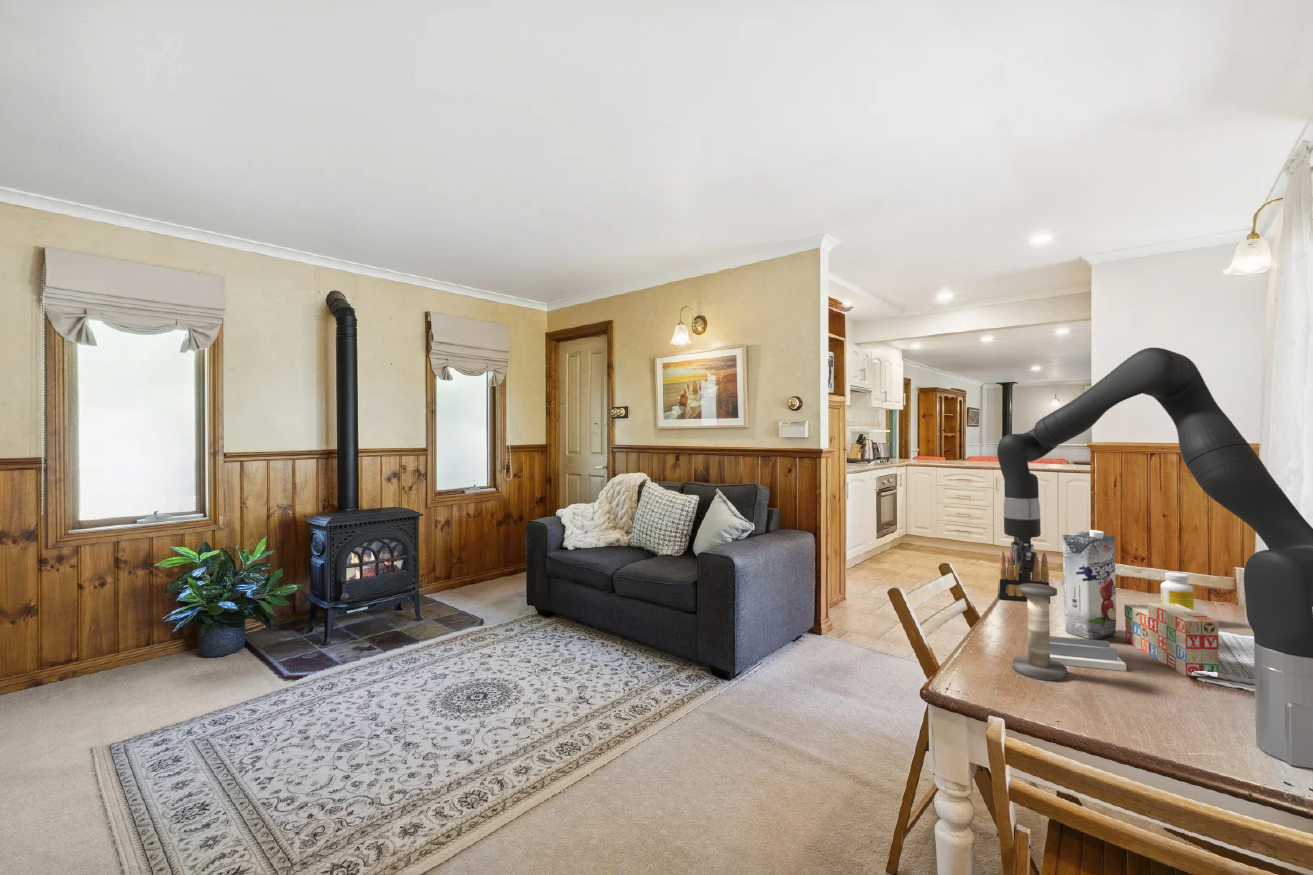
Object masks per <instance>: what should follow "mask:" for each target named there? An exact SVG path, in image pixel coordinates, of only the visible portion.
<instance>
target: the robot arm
mask: <svg viewBox="0 0 1313 875" xmlns="http://www.w3.org/2000/svg"><path fill="white" fill-rule="evenodd" d="M1142 394H1143V395H1146V396H1148V397H1153V399H1154V400H1156V401H1157V402H1158V403H1159V404H1160V405H1161V407H1162V408H1163V409H1164V411H1166V414H1168V416H1169V417H1170V419H1171V421H1172V422H1173V423H1174V426H1175V428H1176V432H1177V438H1178V446H1179V450H1180V454H1181V458H1182V460H1183V462H1184V464H1185V465H1186V467H1187V469H1188V471H1189V472H1190V473H1191V475H1192V478H1194V480H1195V481H1196V482H1197V484H1198V486H1199V487H1200V489H1202V491H1203V492H1204V493H1205V494H1206V495H1207V496H1209V497H1210V498H1211V499H1212V500H1213V501H1215V502H1216V503H1217V504H1219V505H1220V506H1222V507H1223V508H1224V509H1226V510H1228V511H1229V512H1230V513H1232V514H1233V515H1234V516H1236V517H1237V518H1239V519H1240V520H1241V521H1243V522H1244V523H1246V524H1247V525H1248V526H1249V527H1250V528H1251V529H1252V530H1253V531H1254V532H1255V533H1256V534H1257V535H1258V536H1259V538H1260V539H1261V540H1262V541H1263V543H1264V544H1265V546H1266V547H1267V549H1264V550H1263V549H1262V550H1260V551H1257V552H1255V553H1253V554H1252V555H1250V557H1249V558H1248V559H1247V560H1246V562H1245V565H1244V571H1243V588H1244V589H1243V590H1244V601H1245V614H1246V617H1247V621H1248V624H1249V626H1250V629H1251V631H1252V632H1253V646H1254V649H1253V651H1254V657H1253V658H1254V660H1253V662H1254V667H1253V668H1254V710H1255V711H1254V714H1255V715H1254V716H1255V745H1256V746H1257V747H1258V748H1259V749H1260V750H1261V751H1263V752H1265V753H1266V754H1268V755H1270V756H1272V757H1274V758H1277V759H1279V760H1282V761H1284V762H1286V763H1287V764H1289V765H1290V766H1293V767H1302V768H1309V769H1313V527H1312V525H1310V523H1309V522H1308V521H1307V520H1306V519H1305V518H1304V516H1303V515H1302V514H1301V512H1300V511H1298V509H1297V508H1296V507H1295V505H1294V504H1293V502H1291V500H1290V498H1289V497H1288V496H1287V495H1286V493H1285V492H1284V491H1283V490H1282V488H1281V487H1280V485H1279V484H1278V483H1277V482H1276V480H1275V479H1274V478H1273V476H1272V475H1271V473H1270V472H1269V470H1268V469H1267V467H1266V466H1265V464H1264V463H1263V461H1262V460H1261V458H1260V457H1259V456H1258V455H1257V453H1256V451H1254V449H1253V447H1252V446H1251V445H1250V444H1249V443H1248V441H1247V440H1246V439H1245V438H1244V436H1243V435H1242V434H1241V432H1240V431H1239V430H1238V429H1237V427H1236V426H1235V425H1234V423H1233V422H1232V420H1230V418H1229V417H1228V416H1227V415H1226V413H1225V412H1224V411H1223V410H1222V408H1220V406H1219V405H1218V403H1217V402H1216V400H1215V398H1214V397H1213V395H1212V393H1211V391H1210V390H1209V388H1208V386H1207V384H1206V381H1205V380H1204V378H1203V376H1202V374H1201V372H1200V370H1199V369H1198V367H1197V366H1196V364H1195V362H1193V361H1192V360H1191V359H1190V358H1189V357H1187V356H1185V355H1184V354H1181V353H1178V352H1174V351H1172V350H1169V349H1166V348H1162V347H1148V348H1147V347H1146V348H1144V349H1141V350H1139V351H1137V352H1135V353H1134V354H1132V355H1130V356H1129V357H1128V358H1126V359H1125V360H1124V361H1123V362H1121V363H1120V364H1119V365H1117V366H1116V367H1115V368H1114V369H1112V370H1111V371H1110V372H1109V373H1108V374H1106V375H1105V376H1104V377H1103V378H1101V379H1100V380H1099V381H1097V382H1096V383H1095V384H1093V385H1092V386H1091V387H1089V388H1088V389H1087V390H1086V391H1084V392H1083V393H1082V394H1080V395H1079V396H1077V397H1076V398H1074V399H1072V400H1071V401H1070V402H1068V403H1066V404H1065V405H1063V406H1061V407H1059V408H1057V409H1055V410H1054V411H1052V412H1050V413H1049V414H1047V415H1046V416H1043V417H1042V418H1041V419H1039V420H1038V421H1037V422H1036V423H1035V424H1034V428H1032V429H1030V430H1028V431H1027V432H1023V433H1010V434H1006V435H1004V436H1003V437H1002V438H1001V439H1000V441H999V442H998V445H997V450H996V451H997V460H998V464H999V467H1000V471H1001V474H1002V476H1003V481H1004V484H1003V485H1004V488H1003V489H1004V500H1003V533H1004V534H1005V535H1006V536H1009V537H1013V541H1011V543H1010V546H1011V552H1012V555H1013V563H1014V568H1015V567H1016V562H1017V563H1018V572H1019V585H1020V584H1027V583H1030V574H1031V575H1032V573H1033V567H1034V560H1035V552H1036V551H1034V550H1035V547H1034V544H1032V540H1031V539H1032V538H1038V537H1041V535H1042V534H1041V527H1042V526H1041V505H1040V500H1039V499H1040V498H1039V497H1040V496H1039V494H1040V493H1039V479H1038V476H1037V475H1036V474H1034V473H1032V472H1030V468H1029V464H1028V463H1031V462H1035V461H1037V460H1039V459H1041V458H1043V457H1045V456H1046V455H1048V454H1049V453H1050V452H1052V451H1053V450H1054V449H1056V448H1057V447H1058V446H1060V445H1061V444H1064V443H1066V442H1068V441H1070V440H1072V439H1074V438H1075V437H1077V436H1079V435H1081V434H1083V433H1084V432H1086V431H1088V430H1089V429H1090V428H1092V427H1093V426H1094V425H1095V424H1096V423H1097V422H1098V421H1099V420H1100V419H1101V418H1102V416H1103V415H1105V413H1106V412H1108V410H1110V409H1111V408H1113V407H1115V406H1116V405H1117V404H1120V403H1122V402H1123V401H1125V400H1129V399H1130V398H1133V397H1136V396H1138V395H1142ZM1020 559H1021V560H1020ZM1024 565H1027V567H1024Z"/></svg>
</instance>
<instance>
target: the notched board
mask: <svg viewBox="0 0 1313 875" xmlns="http://www.w3.org/2000/svg"><path fill="white" fill-rule="evenodd" d="M1110 645H1111V644H1110V642H1109V640H1101V639H1098V640H1091V639H1088V638H1078V637H1065V636H1051V635H1050V659H1051V660H1054V661H1057V662H1059V663H1061V664H1063V665H1064V666H1071V667H1072V666H1073V667H1081V668H1091V669H1099V670H1100V669H1101V670H1111V671H1119V672H1120V671H1122V672H1127V664H1126V662H1124V660H1122V659H1121V658H1120V657H1119V656H1118V648H1117V647H1110Z"/></svg>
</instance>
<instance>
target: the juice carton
mask: <svg viewBox="0 0 1313 875" xmlns="http://www.w3.org/2000/svg"><path fill="white" fill-rule="evenodd" d="M1061 536H1062V537H1061V538H1062V566H1063V567H1062V568H1063V569H1062V570H1063V572H1062V573H1063V574H1062V575H1063V578H1062V579H1063V616H1064V629H1065V632H1066V633H1067V634H1070V635H1074V636H1077V637H1081V638H1083V639H1090V640H1101V639H1104V638H1109V637H1113V636H1114V635H1116V630H1117V629H1116V628H1117V599H1116V598H1117V596H1116V594H1117V593H1116V590H1117V589H1116V587H1117V586H1116V552H1115V545H1116V544H1115V540H1116V539H1115V538H1116V537H1115V536H1114V535H1110V534H1105V532H1104V531H1102V530H1097V529H1090V530H1089V531H1080V532H1078V533H1074V534H1073V533H1071V534H1069V533H1068V534H1062V535H1061Z"/></svg>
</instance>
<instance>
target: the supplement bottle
mask: <svg viewBox="0 0 1313 875" xmlns="http://www.w3.org/2000/svg"><path fill="white" fill-rule="evenodd" d="M1164 577H1165V581H1163V582H1161V583H1160V604H1179V605H1181V606H1184V607H1186V608H1189V609H1191V610H1194V611H1195V609H1194V607H1195V605H1194V588H1193V586H1192V585H1191V584H1189V583H1188V580H1189V575H1188V574H1186V573H1181V572H1174V571H1167V572H1165V573H1164Z"/></svg>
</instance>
